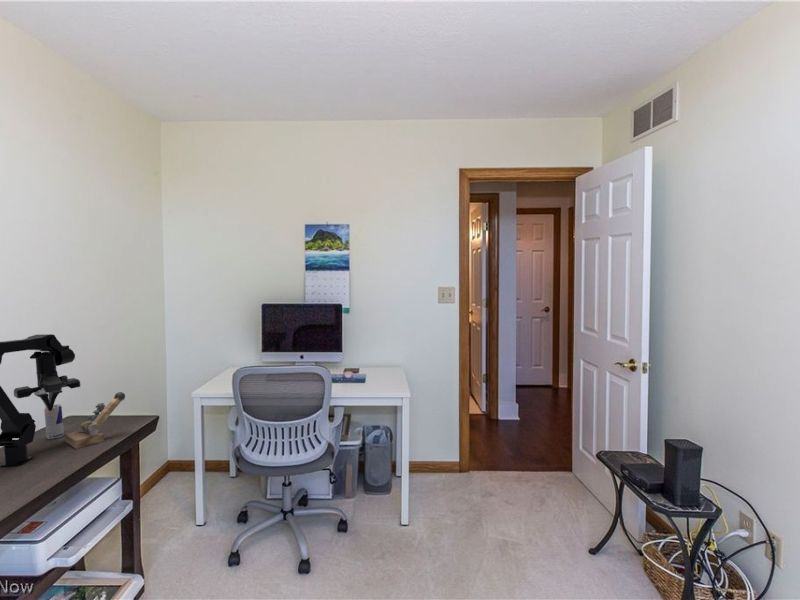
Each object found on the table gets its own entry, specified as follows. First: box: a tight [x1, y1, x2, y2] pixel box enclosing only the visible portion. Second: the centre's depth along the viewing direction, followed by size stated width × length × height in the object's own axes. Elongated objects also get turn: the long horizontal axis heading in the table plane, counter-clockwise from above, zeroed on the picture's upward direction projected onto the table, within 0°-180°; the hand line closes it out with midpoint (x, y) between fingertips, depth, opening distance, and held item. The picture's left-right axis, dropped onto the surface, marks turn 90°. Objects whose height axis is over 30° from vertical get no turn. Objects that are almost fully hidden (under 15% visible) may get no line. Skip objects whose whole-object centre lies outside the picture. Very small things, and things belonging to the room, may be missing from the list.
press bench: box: [64, 420, 105, 450], centre depth 173 cm, size 9×12×7 cm
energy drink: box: [43, 404, 65, 440], centre depth 179 cm, size 5×5×12 cm
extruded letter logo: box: [86, 402, 107, 422], centre depth 198 cm, size 25×2×6 cm, turn 18°
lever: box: [87, 391, 126, 431], centre depth 176 cm, size 4×4×17 cm
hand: (50, 410), depth 169 cm, fingers closed
